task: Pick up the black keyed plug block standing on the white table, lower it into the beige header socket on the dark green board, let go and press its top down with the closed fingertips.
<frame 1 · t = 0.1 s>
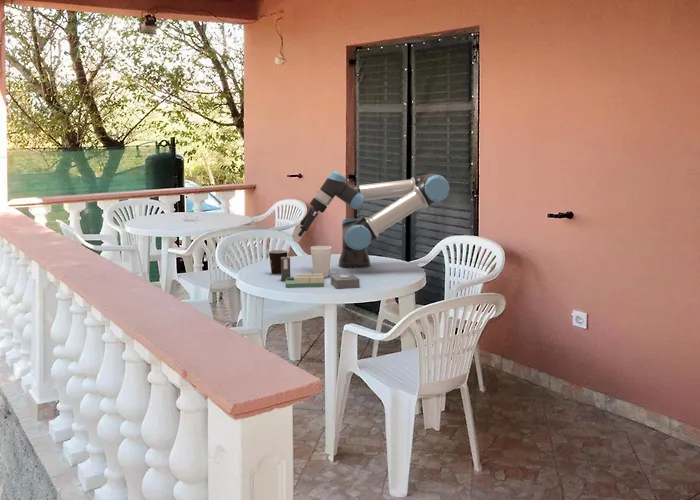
hand: (294, 239, 347), 15 cm above the table, tool tilted 35°, fingers open, 13 cm apart
board: (304, 284, 323), on the table
coffee mug: (279, 272, 349), on the table
foam cup: (321, 276, 341), on the table
dark grey box: (344, 285, 320), on the table
plug: (285, 280, 332), on the table
socket: (309, 284, 322), resting on board
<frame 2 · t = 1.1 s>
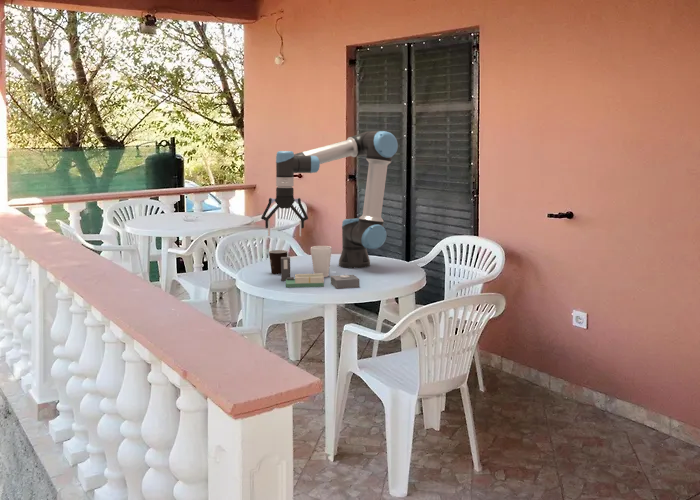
hand: (284, 235, 329), 20 cm above the table, tool pointing down, fingers open, 13 cm apart
nothing on the table moved.
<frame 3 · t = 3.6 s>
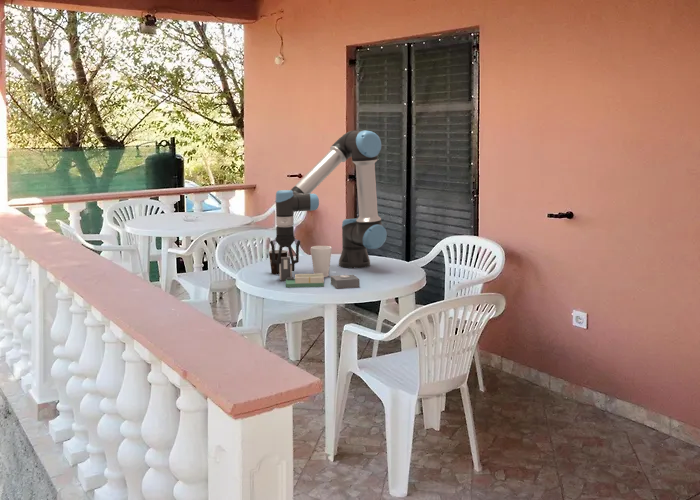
hand: (285, 278, 332), 1 cm above the table, tool pointing down, fingers closed on plug, 4 cm apart
plug: (285, 280, 332), on the table, touching gripper
everything else where it was.
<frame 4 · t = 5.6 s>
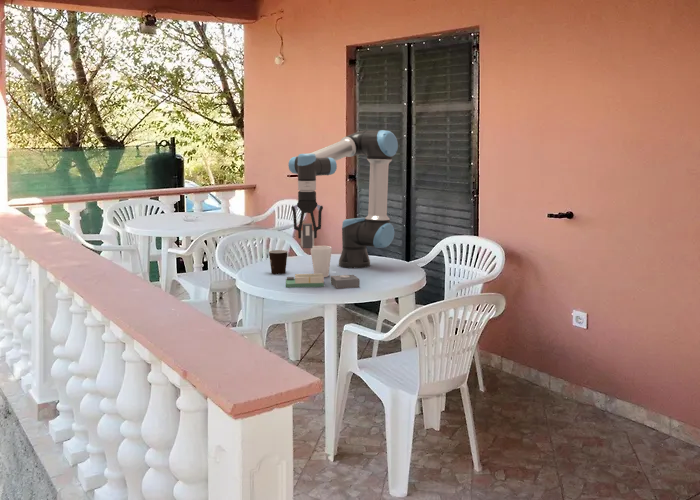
hand: (307, 245, 319), 17 cm above the table, tool pointing down, fingers closed on plug, 4 cm apart
plug: (307, 247, 320), point 16 cm above the table, touching gripper
everything else where it was.
when the fingers open (3 cm above the table, at t = 7.5 s): plug drops 1 cm, resting on board.
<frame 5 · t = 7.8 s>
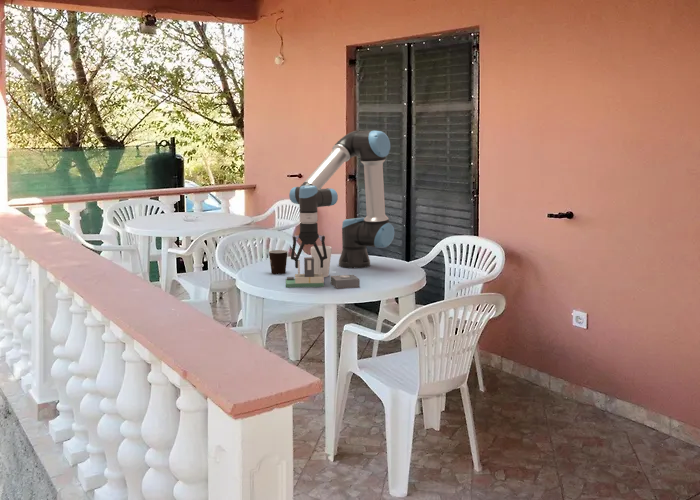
hand: (309, 275, 321), 4 cm above the table, tool pointing down, fingers open, 8 cm apart
plug: (309, 281, 322), point 1 cm above the table, touching board
everything else where it was.
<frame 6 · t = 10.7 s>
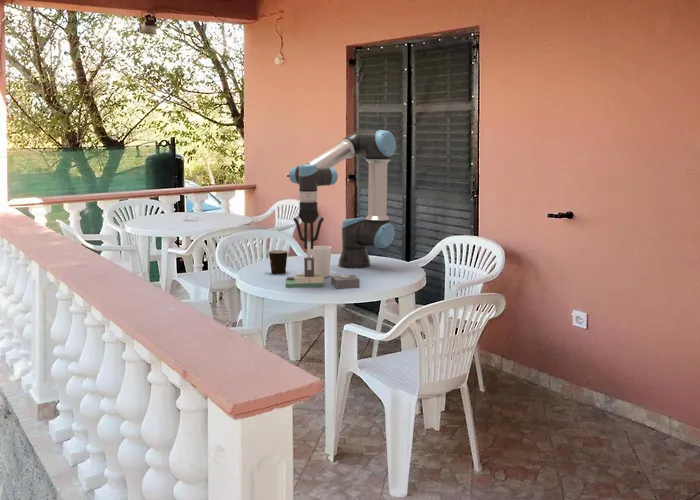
hand: (308, 256, 320), 12 cm above the table, tool pointing down, fingers closed
nothing on the table moved.
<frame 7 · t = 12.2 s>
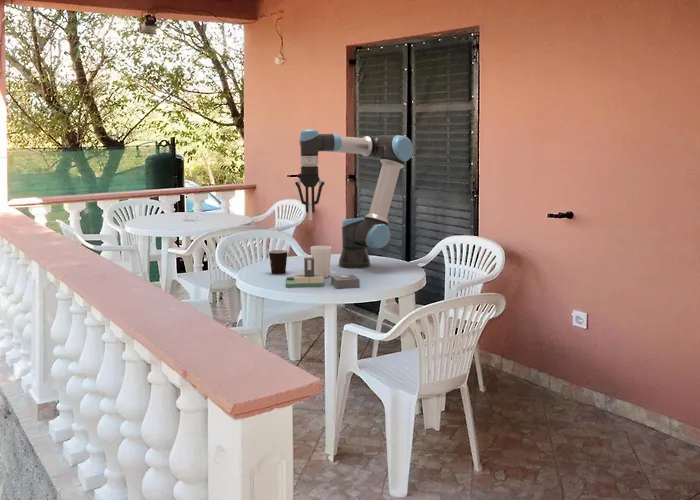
hand: (310, 219, 329), 26 cm above the table, tool pointing down, fingers closed
nothing on the table moved.
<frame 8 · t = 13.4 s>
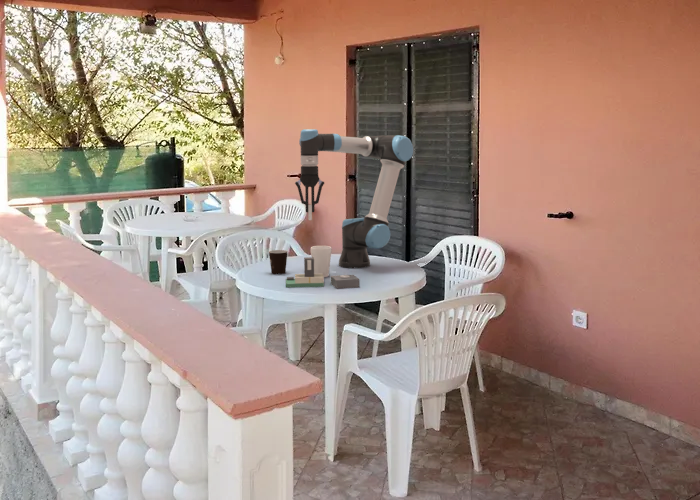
hand: (310, 219, 329), 26 cm above the table, tool pointing down, fingers closed
nothing on the table moved.
at the end: plug 0.0 cm off-centre on the socket, point 1.5 cm above the socket's base; plug tilted 0°; the gripper is holding nothing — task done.
